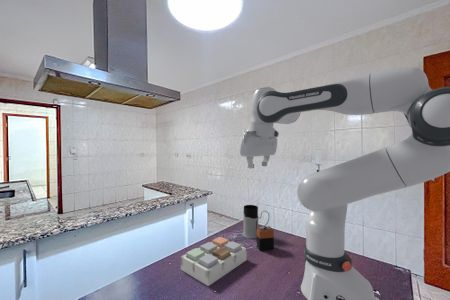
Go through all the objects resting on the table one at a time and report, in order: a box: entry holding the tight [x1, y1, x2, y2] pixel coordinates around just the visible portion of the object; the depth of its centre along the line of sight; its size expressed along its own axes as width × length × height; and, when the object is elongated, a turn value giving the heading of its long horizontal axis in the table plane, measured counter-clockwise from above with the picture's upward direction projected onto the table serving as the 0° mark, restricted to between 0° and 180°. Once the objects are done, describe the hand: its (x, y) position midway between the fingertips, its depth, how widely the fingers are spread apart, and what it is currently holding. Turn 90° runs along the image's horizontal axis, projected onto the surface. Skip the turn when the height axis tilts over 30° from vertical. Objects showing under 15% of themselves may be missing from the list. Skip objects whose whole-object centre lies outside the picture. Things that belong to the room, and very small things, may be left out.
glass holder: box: [242, 204, 270, 239], centre depth 113 cm, size 9×14×15 cm, turn 67°
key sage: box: [185, 247, 205, 262], centre depth 83 cm, size 5×5×3 cm
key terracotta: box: [211, 236, 229, 248], centre depth 93 cm, size 5×5×3 cm
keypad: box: [180, 240, 248, 287], centre depth 86 cm, size 15×22×6 cm
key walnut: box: [212, 247, 230, 261], centre depth 83 cm, size 5×5×3 cm
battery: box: [256, 225, 275, 252], centre depth 99 cm, size 4×7×10 cm, turn 101°
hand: (257, 167), depth 84 cm, fingers open, 8 cm apart
